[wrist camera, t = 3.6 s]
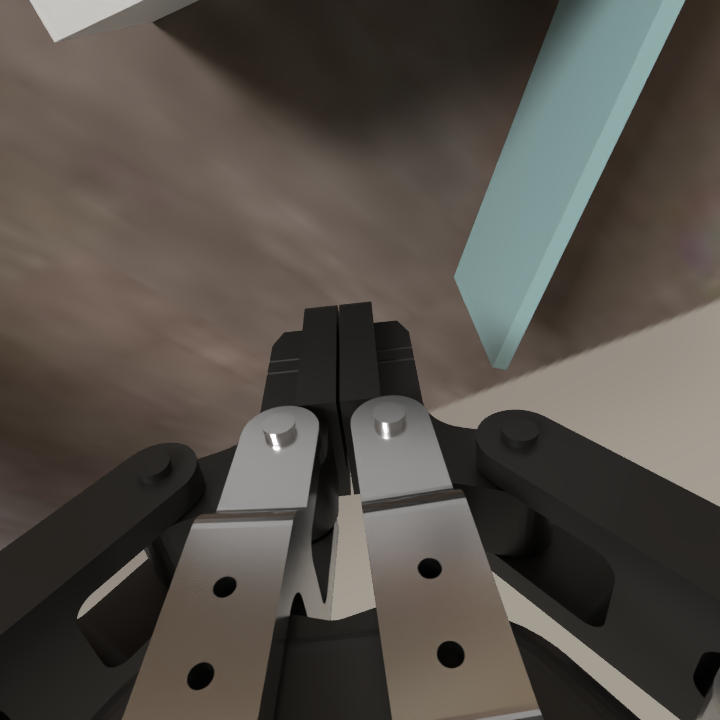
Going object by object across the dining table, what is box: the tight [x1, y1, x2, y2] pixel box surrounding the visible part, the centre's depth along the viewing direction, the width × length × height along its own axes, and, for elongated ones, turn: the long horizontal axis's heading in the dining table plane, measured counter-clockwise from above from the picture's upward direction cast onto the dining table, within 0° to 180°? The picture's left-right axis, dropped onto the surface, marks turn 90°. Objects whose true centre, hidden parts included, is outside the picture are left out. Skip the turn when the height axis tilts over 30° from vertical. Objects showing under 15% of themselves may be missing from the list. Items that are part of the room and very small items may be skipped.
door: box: [454, 0, 685, 370], centre depth 17 cm, size 15×1×7 cm, turn 166°
